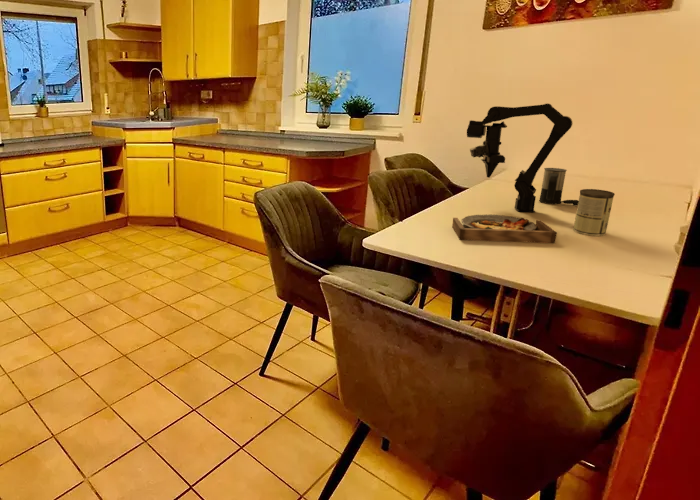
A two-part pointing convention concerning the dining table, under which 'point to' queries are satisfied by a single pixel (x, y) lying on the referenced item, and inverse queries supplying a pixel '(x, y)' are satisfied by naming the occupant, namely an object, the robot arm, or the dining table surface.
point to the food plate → (492, 223)
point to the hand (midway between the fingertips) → (488, 177)
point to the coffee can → (593, 212)
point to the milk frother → (554, 187)
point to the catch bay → (506, 233)
